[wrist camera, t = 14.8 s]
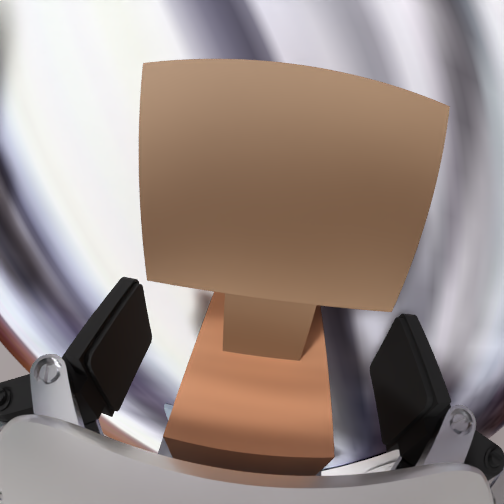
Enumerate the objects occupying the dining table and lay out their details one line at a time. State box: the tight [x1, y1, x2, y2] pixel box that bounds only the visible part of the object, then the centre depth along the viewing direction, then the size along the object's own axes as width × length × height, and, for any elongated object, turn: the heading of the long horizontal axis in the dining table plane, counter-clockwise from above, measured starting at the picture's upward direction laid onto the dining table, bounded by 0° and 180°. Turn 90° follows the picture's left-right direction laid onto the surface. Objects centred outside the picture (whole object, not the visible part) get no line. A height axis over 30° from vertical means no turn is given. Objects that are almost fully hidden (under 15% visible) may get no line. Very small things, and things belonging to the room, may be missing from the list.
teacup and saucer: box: [368, 461, 395, 473], centre depth 23 cm, size 9×8×4 cm
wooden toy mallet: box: [139, 59, 450, 476], centre depth 10 cm, size 22×6×8 cm, turn 175°
